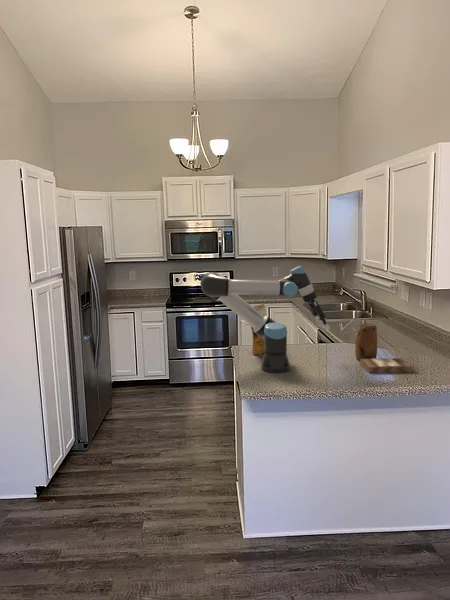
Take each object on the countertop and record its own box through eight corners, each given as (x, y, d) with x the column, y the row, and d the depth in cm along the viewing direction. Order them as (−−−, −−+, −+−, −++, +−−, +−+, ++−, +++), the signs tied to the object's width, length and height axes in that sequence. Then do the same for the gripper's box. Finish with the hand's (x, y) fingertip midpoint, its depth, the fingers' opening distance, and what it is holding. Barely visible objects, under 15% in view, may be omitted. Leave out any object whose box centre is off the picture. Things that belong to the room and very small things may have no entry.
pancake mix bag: (245, 354, 277) (245, 307, 273) (264, 347, 292) (264, 303, 287) (255, 356, 273) (254, 308, 269) (273, 349, 287) (273, 304, 283)
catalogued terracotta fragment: (372, 357, 267) (373, 322, 264) (377, 361, 259) (379, 325, 256) (353, 358, 266) (354, 323, 263) (358, 362, 258) (359, 326, 255)
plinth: (368, 373, 239) (369, 366, 238) (359, 364, 254) (360, 358, 253) (412, 372, 239) (412, 365, 239) (400, 363, 254) (400, 357, 254)
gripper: (319, 291, 244) (337, 327, 246) (309, 288, 269) (325, 322, 271) (306, 298, 244) (324, 334, 246) (297, 294, 269) (313, 327, 271)
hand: (324, 327), depth 259 cm, fingers open, 13 cm apart
